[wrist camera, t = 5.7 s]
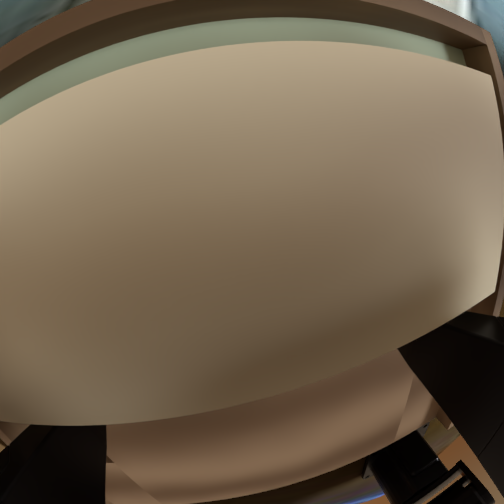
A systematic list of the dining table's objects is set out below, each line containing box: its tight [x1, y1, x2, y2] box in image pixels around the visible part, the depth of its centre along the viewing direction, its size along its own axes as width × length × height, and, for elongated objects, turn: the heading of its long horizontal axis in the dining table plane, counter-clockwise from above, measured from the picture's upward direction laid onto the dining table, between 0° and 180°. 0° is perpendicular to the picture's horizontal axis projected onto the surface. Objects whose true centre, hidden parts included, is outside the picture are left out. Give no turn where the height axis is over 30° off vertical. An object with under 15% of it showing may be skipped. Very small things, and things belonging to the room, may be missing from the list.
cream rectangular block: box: [0, 41, 504, 426], centre depth 5 cm, size 5×12×4 cm, turn 101°
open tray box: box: [0, 0, 504, 504], centre depth 10 cm, size 22×24×4 cm
